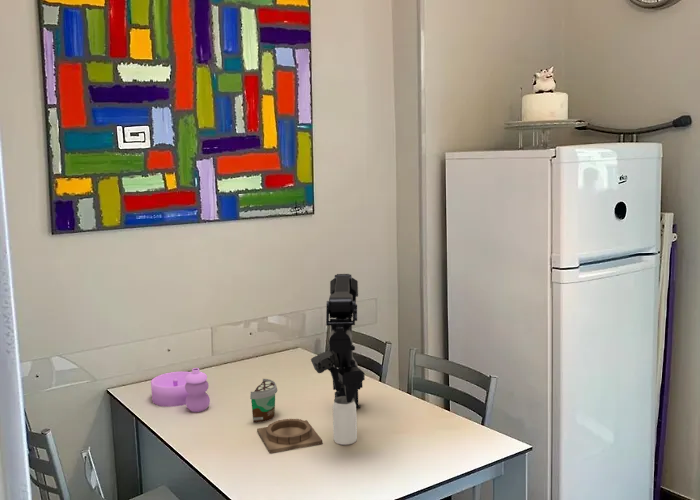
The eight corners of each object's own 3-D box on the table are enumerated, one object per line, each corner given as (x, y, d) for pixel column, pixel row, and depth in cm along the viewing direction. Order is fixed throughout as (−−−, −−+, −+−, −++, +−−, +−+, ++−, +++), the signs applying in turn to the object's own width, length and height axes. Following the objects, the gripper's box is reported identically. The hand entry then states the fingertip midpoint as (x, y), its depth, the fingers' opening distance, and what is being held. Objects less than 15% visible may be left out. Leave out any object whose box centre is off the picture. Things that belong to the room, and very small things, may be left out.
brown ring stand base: (306, 423, 209) (306, 413, 208) (322, 443, 195) (322, 433, 195) (257, 431, 204) (256, 422, 203) (269, 453, 190) (269, 443, 190)
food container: (271, 425, 208) (269, 393, 206) (251, 424, 209) (249, 392, 208) (283, 409, 220) (282, 378, 218) (264, 408, 221) (263, 377, 219)
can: (360, 437, 199) (359, 396, 197) (352, 447, 193) (351, 405, 191) (338, 434, 201) (337, 394, 199) (330, 444, 195) (329, 402, 193)
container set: (144, 398, 232) (141, 359, 230) (185, 386, 243) (182, 349, 240) (182, 419, 214) (179, 378, 212) (225, 405, 225) (223, 365, 222)
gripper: (303, 336, 198) (305, 389, 201) (324, 355, 181) (325, 413, 183) (341, 331, 202) (342, 383, 204) (364, 350, 184) (366, 406, 187)
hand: (343, 396), depth 195 cm, fingers open, 9 cm apart
